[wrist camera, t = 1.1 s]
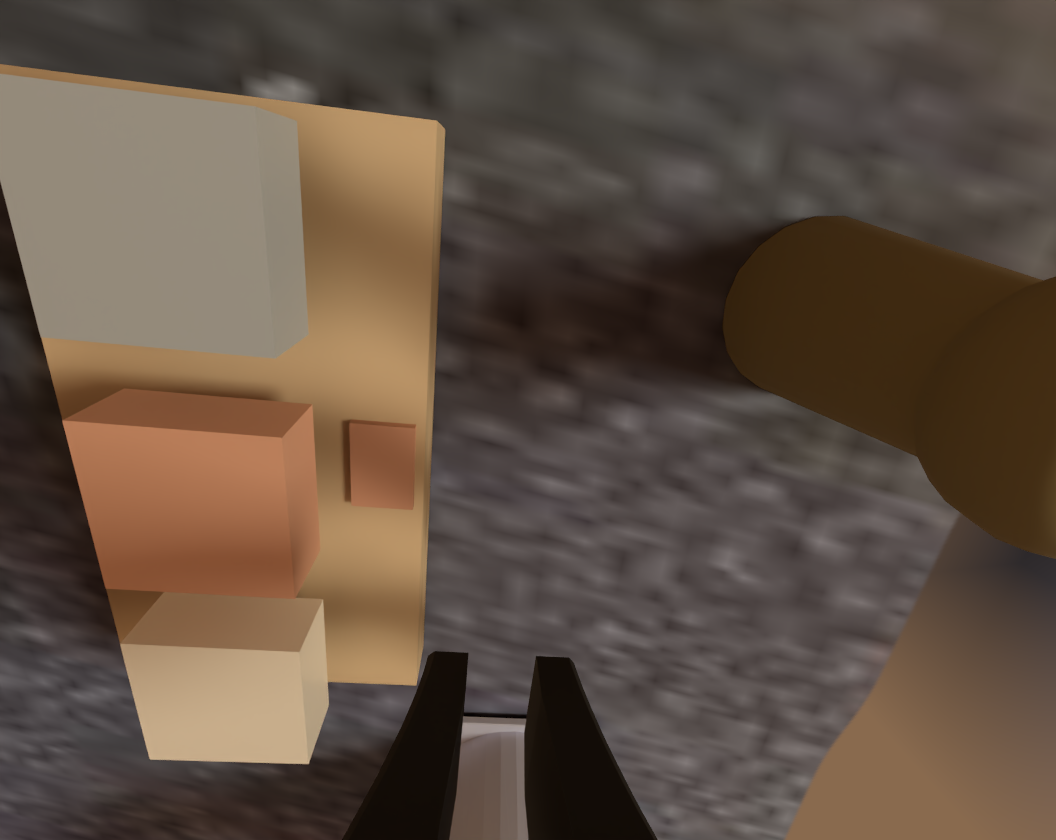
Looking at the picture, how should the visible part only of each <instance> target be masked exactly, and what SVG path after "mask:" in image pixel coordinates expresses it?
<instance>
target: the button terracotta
mask: <svg viewBox="0 0 1056 840" xmlns="http://www.w3.org/2000/svg"><path fill="white" fill-rule="evenodd" d="M62 422H63V426H64V429H65V433H66V437H67V441H68V445H69V449H70V453H71V456H72V460H73V464H74V468H75V472H76V476H77V480H78V484H79V487H80V491H81V495H82V499H83V503H84V507H85V511H86V514H87V518H88V522H89V526H90V530H91V534H92V538H93V542H94V545H95V549H96V553H97V557H98V561H99V565H100V569H101V573H102V576H103V580H104V584H105V588H106V589H121V590H139V591H157V592H175V593H194V594H212V595H230V596H249V597H267V598H285V599H295V598H296V596H297V594H298V593H299V591H300V589H301V587H302V585H303V583H304V581H305V579H306V577H307V575H308V573H309V571H310V569H311V567H312V565H313V563H314V561H315V559H316V558H317V556H318V554H319V552H320V534H319V515H318V497H317V479H316V461H315V442H314V424H313V406H312V404H303V403H291V402H280V401H268V400H256V399H244V398H232V397H220V396H208V395H196V394H184V393H173V392H161V391H149V390H137V389H125V388H124V389H122V390H120V391H118V392H116V393H115V394H113V395H111V396H109V397H107V398H105V399H103V400H101V401H99V402H97V403H95V404H93V405H91V406H89V407H87V408H85V409H83V410H81V411H80V412H78V413H76V414H74V415H72V416H70V417H68V418H66V419H64V420H62Z"/></svg>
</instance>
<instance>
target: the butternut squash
mask: <svg viewBox="0 0 1056 840" xmlns="http://www.w3.org/2000/svg"><path fill="white" fill-rule="evenodd" d="M722 328H723V333H724V338H725V344H726V349H727V353H728V354H729V356H730V358H731V359H732V361H733V363H734V364H735V366H736V367H737V369H738V371H739V372H740V373H741V374H742V375H743V376H745V377H746V378H747V379H749V380H750V381H751V382H753V383H754V384H755V385H757V386H758V387H760V388H762V389H764V390H767V391H769V392H771V393H773V394H776V395H778V396H780V397H783V398H785V399H787V400H789V401H792V402H794V403H796V404H798V405H801V406H803V407H805V408H808V409H810V410H812V411H814V412H817V413H819V414H821V415H824V416H826V417H828V418H830V419H833V420H835V421H837V422H839V423H842V424H844V425H846V426H849V427H851V428H853V429H855V430H858V431H860V432H862V433H865V434H867V435H869V436H871V437H874V438H876V439H878V440H880V441H883V442H885V443H887V444H890V445H892V446H894V447H896V448H899V449H901V450H903V451H905V452H908V453H910V454H912V455H915V456H917V457H918V459H919V461H920V463H921V465H922V467H923V469H924V471H925V473H926V475H927V477H928V479H929V481H930V482H931V483H932V485H933V486H934V487H935V488H936V490H937V491H938V492H939V494H940V495H941V496H942V497H943V499H944V500H945V501H946V502H947V503H949V504H950V505H951V506H953V507H954V508H955V509H956V510H958V511H959V512H960V513H962V514H963V515H964V516H966V517H967V518H968V519H970V520H971V521H972V522H973V523H975V524H976V525H978V526H979V527H980V528H982V529H983V530H984V531H986V532H987V533H989V534H990V535H992V536H993V537H994V538H996V539H998V540H1001V541H1003V542H1006V543H1008V544H1011V545H1013V546H1016V547H1018V548H1020V549H1023V550H1025V551H1028V552H1032V553H1036V554H1040V555H1043V556H1048V557H1051V558H1055V559H1056V277H1053V278H1050V279H1047V280H1044V281H1043V280H1040V279H1037V278H1034V277H1031V276H1028V275H1025V274H1022V273H1018V272H1015V271H1012V270H1009V269H1006V268H1003V267H1000V266H997V265H994V264H991V263H988V262H985V261H982V260H978V259H975V258H972V257H969V256H966V255H963V254H960V253H957V252H954V251H951V250H948V249H945V248H941V247H938V246H935V245H932V244H929V243H926V242H923V241H920V240H917V239H914V238H911V237H908V236H904V235H901V234H898V233H895V232H892V231H889V230H886V229H883V228H880V227H877V226H874V225H871V224H868V223H864V222H861V221H858V220H855V219H852V218H849V217H846V216H820V217H812V218H810V219H807V220H804V221H801V222H798V223H795V224H793V225H790V226H787V227H785V228H783V229H782V230H781V231H779V232H778V233H776V234H775V235H774V236H772V237H771V238H769V239H768V240H767V241H765V242H764V243H762V244H761V245H760V246H758V248H757V249H756V250H755V251H754V252H753V254H752V255H751V256H750V257H749V259H748V260H747V261H746V262H745V263H744V265H743V266H742V267H741V268H740V270H739V271H738V273H737V275H736V277H735V280H734V282H733V284H732V286H731V289H730V291H729V293H728V295H727V298H726V302H725V310H724V318H723V325H722Z"/></svg>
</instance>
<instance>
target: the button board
mask: <svg viewBox="0 0 1056 840" xmlns="http://www.w3.org/2000/svg"><path fill="white" fill-rule="evenodd" d="M0 74H6V75H14V76H22V77H30V78H38V79H45V80H53V81H61V82H69V83H77V84H84V85H92V86H100V87H108V88H116V89H124V90H131V91H139V92H147V93H155V94H163V95H170V96H178V97H186V98H194V99H202V100H209V101H217V102H225V103H233V104H241V105H248V106H256V107H258V108H261V109H264V110H267V111H270V112H273V113H276V114H279V115H281V116H284V117H287V118H290V119H293V120H296V121H297V131H298V150H299V168H300V186H301V204H302V223H303V241H304V259H305V278H306V296H307V314H308V333H309V335H307V336H306V337H305V338H303V339H302V340H300V341H299V342H298V343H296V344H295V345H294V346H292V347H291V348H289V349H288V350H287V351H285V352H284V353H283V354H281V355H280V356H278V357H277V358H276V359H275V358H264V357H253V356H242V355H231V354H220V353H209V352H198V351H187V350H176V349H165V348H154V347H143V346H132V345H121V344H110V343H99V342H88V341H77V340H66V339H55V338H44V337H41V339H42V342H43V346H44V350H45V354H46V358H47V362H48V366H49V370H50V373H51V377H52V381H53V385H54V389H55V393H56V397H57V401H58V404H59V408H60V412H61V416H62V420H64V419H66V418H68V417H70V416H72V415H74V414H76V413H78V412H80V411H81V410H83V409H85V408H87V407H89V406H91V405H93V404H95V403H97V402H99V401H101V400H103V399H105V398H107V397H109V396H111V395H113V394H115V393H116V392H118V391H120V390H122V389H124V388H125V389H137V390H149V391H161V392H173V393H184V394H196V395H208V396H220V397H232V398H244V399H256V400H268V401H280V402H291V403H303V404H312V406H313V424H314V442H315V461H316V479H317V497H318V515H319V534H320V552H319V554H318V556H317V558H316V559H315V561H314V563H313V565H312V567H311V569H310V571H309V573H308V575H307V577H306V579H305V581H304V583H303V585H302V587H301V589H300V591H299V593H298V594H297V596H296V598H311V599H323V607H324V625H325V644H326V662H327V680H328V682H347V683H370V684H394V685H416V684H417V679H418V673H419V667H420V662H421V656H422V651H423V641H424V617H425V594H426V570H427V547H428V523H429V500H430V476H431V452H432V429H433V405H434V382H435V358H436V334H437V311H438V287H439V264H440V240H441V217H442V193H443V169H444V146H445V129H444V128H443V127H442V126H441V124H440V123H439V122H438V121H435V120H427V119H419V118H411V117H404V116H396V115H388V114H380V113H373V112H365V111H357V110H350V109H342V108H334V107H326V106H319V105H311V104H303V103H296V102H288V101H280V100H272V99H265V98H257V97H249V96H241V95H234V94H226V93H218V92H211V91H203V90H195V89H187V88H180V87H172V86H164V85H156V84H149V83H141V82H133V81H126V80H118V79H110V78H102V77H95V76H87V75H79V74H72V73H64V72H56V71H48V70H41V69H33V68H25V67H17V66H10V65H2V64H0ZM106 590H107V594H108V598H109V602H110V606H111V610H112V614H113V617H114V621H115V625H116V629H117V633H118V637H119V641H120V643H121V642H122V641H123V640H124V638H125V637H126V636H127V635H128V634H129V633H130V631H131V630H132V629H133V628H134V627H135V626H136V624H137V623H138V622H139V621H140V620H141V618H142V617H143V616H144V615H145V614H146V613H147V611H148V610H149V609H150V608H151V607H152V606H153V604H154V603H155V602H156V601H157V600H158V598H159V597H160V596H161V595H162V594H163V593H164V592H157V591H139V590H121V589H106Z"/></svg>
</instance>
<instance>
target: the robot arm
mask: <svg viewBox="0 0 1056 840" xmlns="http://www.w3.org/2000/svg"><path fill="white" fill-rule="evenodd" d="M467 664H468V653H459V652H438V651H435V652H433V653H432V654H430V655H429V656H428V658H427V662H426V666H425V669H424V672H423V675H422V678H421V681H420V684H419V686H418V689H417V692H416V694H415V697H414V699H413V702H412V704H411V706H410V709H409V711H408V713H407V715H406V718H405V720H404V722H403V725H402V727H401V729H400V731H399V733H398V735H397V737H396V739H395V741H394V743H393V745H392V747H391V749H390V751H389V753H388V756H387V758H386V760H385V762H384V764H383V766H382V768H381V770H380V772H379V774H378V776H377V777H376V779H375V781H374V783H373V785H372V787H371V788H370V790H369V792H368V794H367V796H366V798H365V799H364V801H363V803H362V805H361V807H360V808H359V810H358V812H357V814H356V816H355V817H354V819H353V821H352V823H351V825H350V826H349V828H348V830H347V832H346V834H345V835H344V837H343V839H342V840H657V838H656V836H655V834H654V832H653V831H652V829H651V827H650V825H649V824H648V822H647V820H646V818H645V816H644V815H643V813H642V811H641V809H640V807H639V805H638V803H637V802H636V800H635V798H634V796H633V794H632V792H631V790H630V788H629V786H628V784H627V782H626V780H625V778H624V776H623V774H622V772H621V770H620V768H619V766H618V764H617V762H616V760H615V758H614V756H613V754H612V752H611V750H610V748H609V746H608V744H607V742H606V740H605V738H604V736H603V734H602V731H601V729H600V727H599V725H598V722H597V720H596V718H595V716H594V713H593V711H592V709H591V706H590V704H589V702H588V699H587V697H586V694H585V692H584V689H583V687H582V684H581V682H580V679H579V676H578V674H577V671H576V668H575V665H574V663H573V662H572V660H571V659H570V658H564V657H543V656H536V660H535V666H534V673H533V679H532V686H531V692H530V698H529V705H528V711H527V718H526V719H520V718H493V717H467V716H463V713H464V702H465V691H466V677H467Z"/></svg>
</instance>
